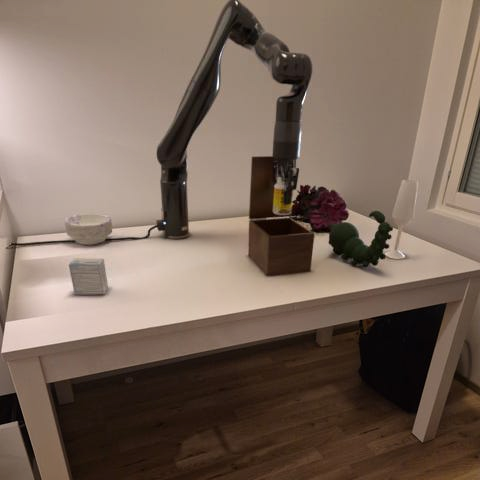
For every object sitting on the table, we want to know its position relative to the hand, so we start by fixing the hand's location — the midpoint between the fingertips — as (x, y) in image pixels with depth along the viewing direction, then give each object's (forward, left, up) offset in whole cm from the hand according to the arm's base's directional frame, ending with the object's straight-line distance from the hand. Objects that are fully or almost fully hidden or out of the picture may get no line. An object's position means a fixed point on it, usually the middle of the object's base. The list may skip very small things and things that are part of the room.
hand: (282, 201), depth 122 cm
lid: (0, +8, +2) cm, 9 cm away
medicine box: (-56, -7, -20) cm, 60 cm away
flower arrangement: (+34, +39, -20) cm, 56 cm away
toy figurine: (+24, -4, -20) cm, 31 cm away
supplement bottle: (0, 0, -4) cm, 4 cm away
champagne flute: (+41, -3, -20) cm, 46 cm away
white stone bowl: (-56, +37, -20) cm, 70 cm away
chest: (0, 0, -19) cm, 19 cm away
